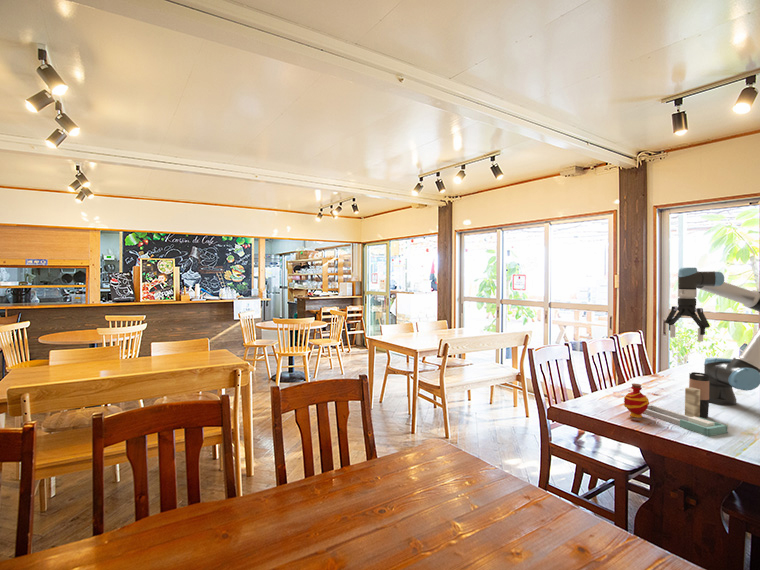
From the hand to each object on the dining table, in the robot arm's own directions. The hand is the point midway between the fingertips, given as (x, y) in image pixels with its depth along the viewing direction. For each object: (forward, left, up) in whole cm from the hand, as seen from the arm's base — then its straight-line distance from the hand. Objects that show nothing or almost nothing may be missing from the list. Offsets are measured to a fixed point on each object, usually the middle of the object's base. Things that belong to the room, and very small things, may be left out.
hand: (686, 339), depth 204 cm
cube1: (+24, +21, -35) cm, 47 cm away
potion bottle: (+36, +3, -35) cm, 50 cm away
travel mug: (+7, +11, -35) cm, 37 cm away
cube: (+24, +25, -35) cm, 49 cm away
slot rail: (+24, +8, -35) cm, 43 cm away
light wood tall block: (+14, +13, -35) cm, 40 cm away
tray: (+24, +24, -35) cm, 49 cm away
